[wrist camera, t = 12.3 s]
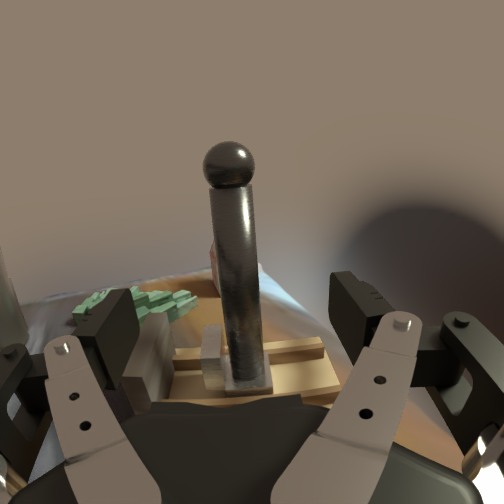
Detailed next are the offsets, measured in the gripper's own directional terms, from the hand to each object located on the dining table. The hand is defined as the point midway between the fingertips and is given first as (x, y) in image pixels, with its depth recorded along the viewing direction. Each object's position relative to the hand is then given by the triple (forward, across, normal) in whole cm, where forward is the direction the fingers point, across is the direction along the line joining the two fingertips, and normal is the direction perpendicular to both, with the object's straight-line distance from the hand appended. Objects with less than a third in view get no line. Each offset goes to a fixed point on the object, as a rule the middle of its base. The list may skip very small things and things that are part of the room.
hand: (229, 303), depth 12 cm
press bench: (+11, 0, +17) cm, 20 cm away
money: (+30, +17, +18) cm, 39 cm away
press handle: (+11, +1, +15) cm, 18 cm away
